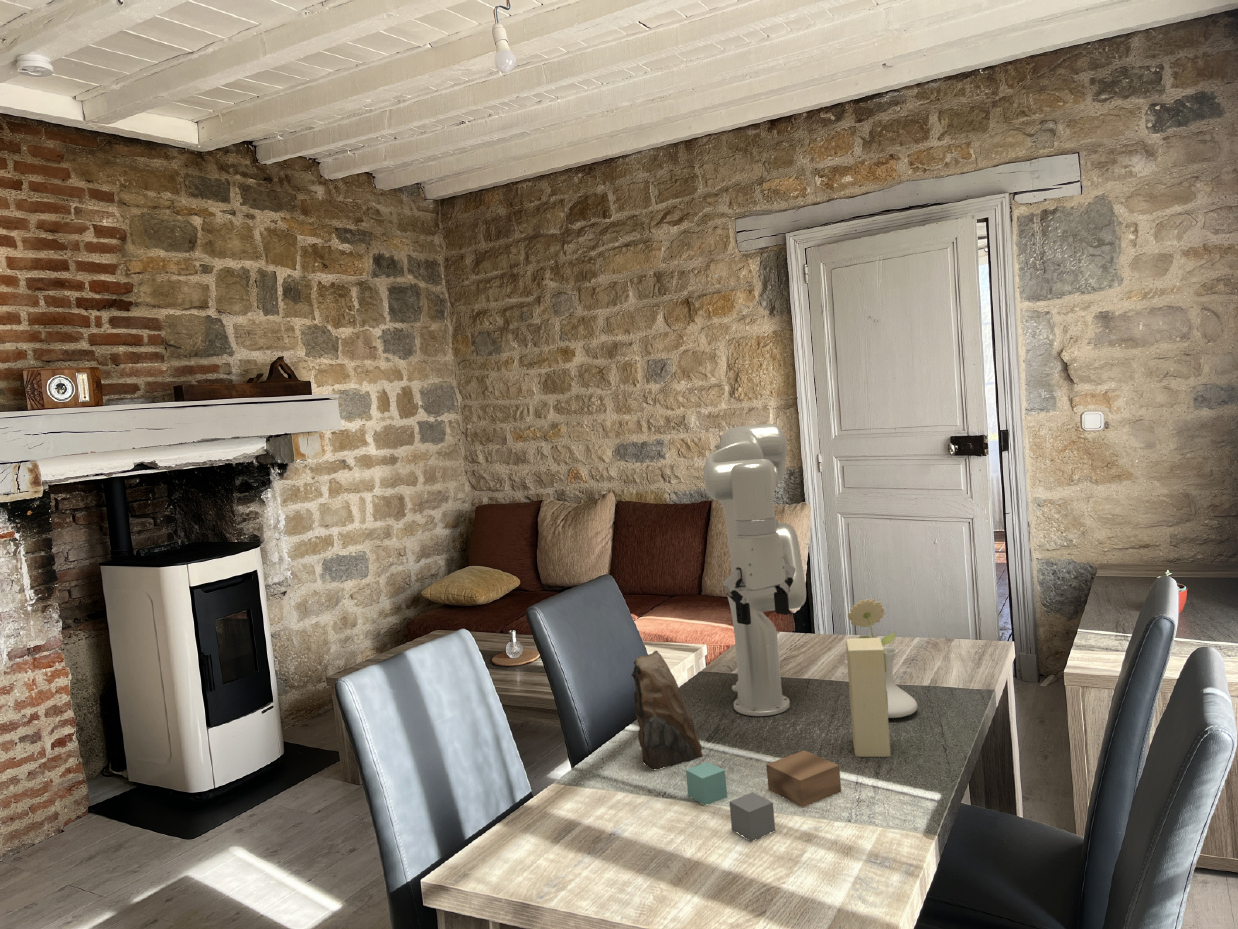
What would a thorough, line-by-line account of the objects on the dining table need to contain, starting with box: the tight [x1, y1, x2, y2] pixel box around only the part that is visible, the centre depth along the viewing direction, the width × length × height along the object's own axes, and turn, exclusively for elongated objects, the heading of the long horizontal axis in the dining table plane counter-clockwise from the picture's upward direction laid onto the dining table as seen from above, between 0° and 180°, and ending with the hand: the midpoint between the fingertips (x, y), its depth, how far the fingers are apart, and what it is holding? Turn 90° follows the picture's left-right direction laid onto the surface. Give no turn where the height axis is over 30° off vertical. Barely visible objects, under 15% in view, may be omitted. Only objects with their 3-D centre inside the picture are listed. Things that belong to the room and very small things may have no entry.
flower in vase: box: [847, 598, 918, 719], centre depth 187 cm, size 13×11×25 cm
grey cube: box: [728, 791, 776, 842], centre depth 143 cm, size 5×5×5 cm
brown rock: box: [631, 650, 704, 771], centre depth 177 cm, size 13×13×20 cm
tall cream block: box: [845, 637, 891, 758], centre depth 170 cm, size 8×7×21 cm
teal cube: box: [685, 761, 728, 806], centre depth 157 cm, size 5×5×5 cm
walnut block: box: [765, 749, 842, 808], centre depth 156 cm, size 9×9×5 cm
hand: (763, 618), depth 165 cm, fingers open, 9 cm apart
